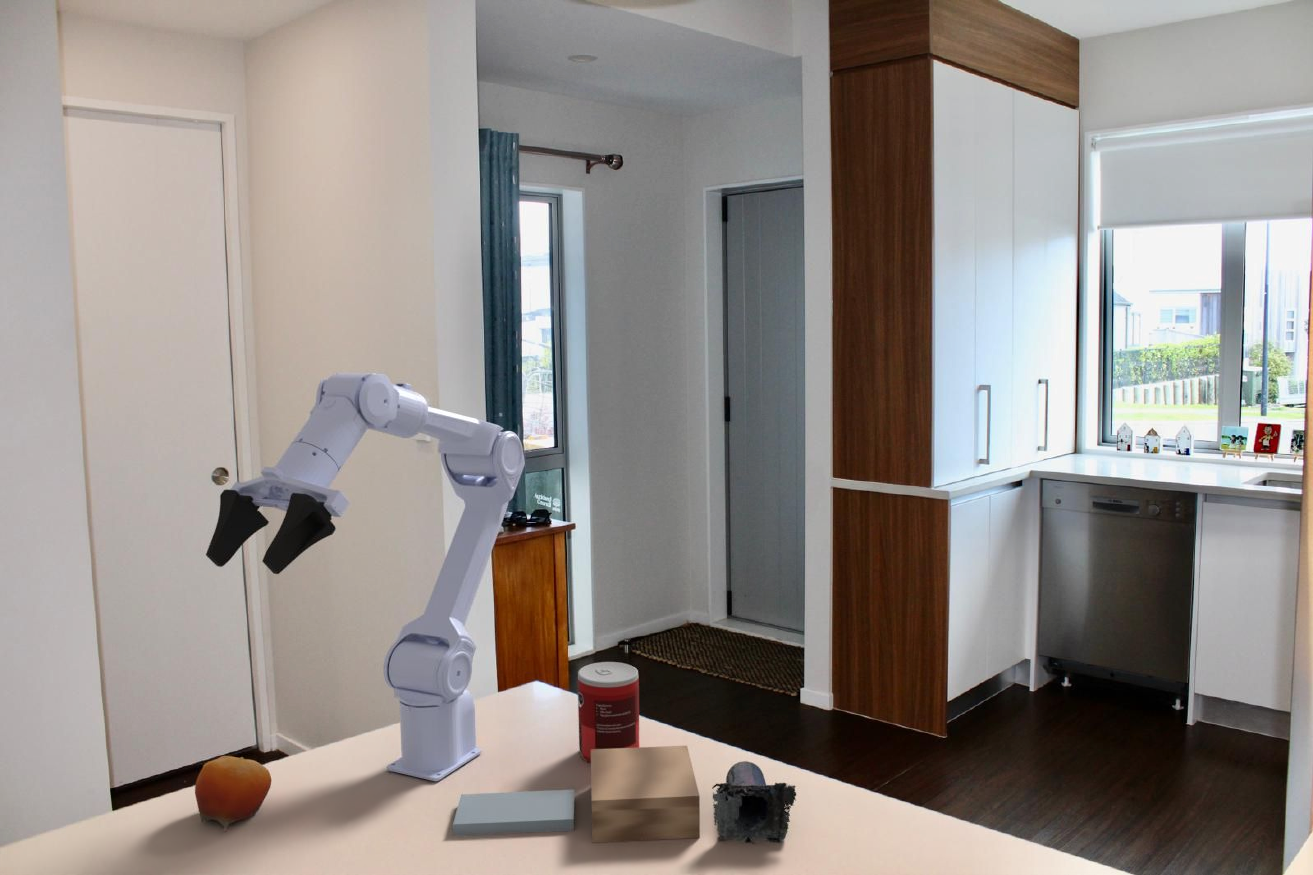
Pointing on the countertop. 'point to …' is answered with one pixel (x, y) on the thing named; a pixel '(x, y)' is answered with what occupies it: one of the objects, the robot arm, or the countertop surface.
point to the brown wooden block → (643, 794)
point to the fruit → (231, 789)
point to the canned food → (608, 707)
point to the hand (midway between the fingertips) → (241, 564)
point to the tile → (515, 812)
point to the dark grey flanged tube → (752, 805)
